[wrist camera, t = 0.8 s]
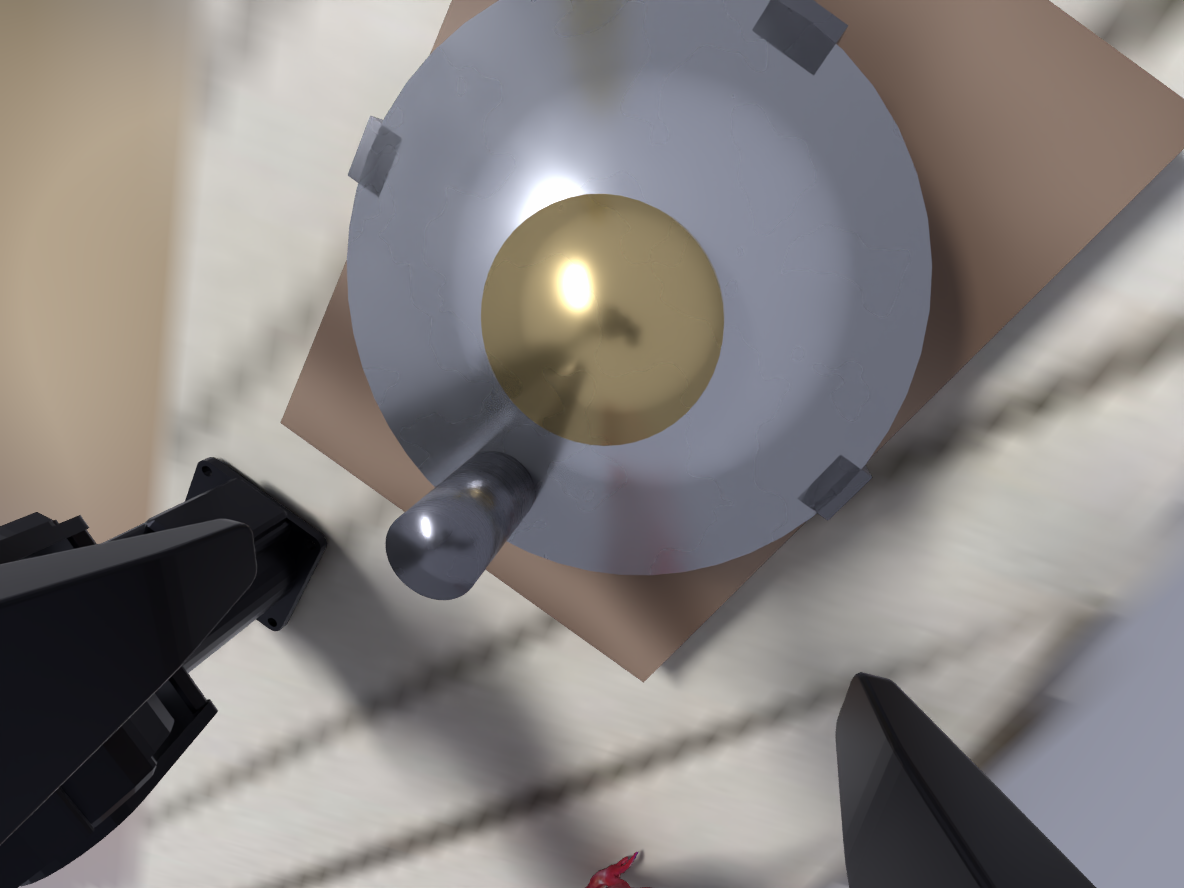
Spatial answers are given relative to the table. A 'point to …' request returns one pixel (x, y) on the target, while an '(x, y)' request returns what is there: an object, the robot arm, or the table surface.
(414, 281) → the notched round platform
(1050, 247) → the base plate
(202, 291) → the table surface
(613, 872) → the decorative bird figurine
